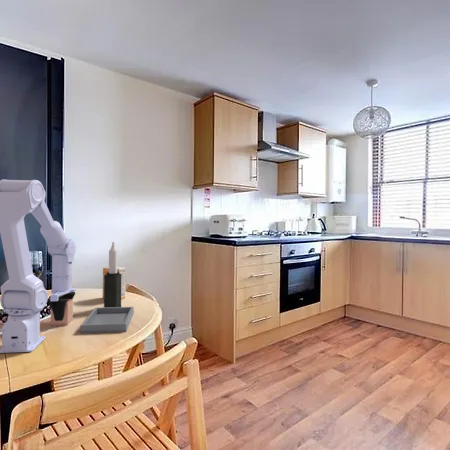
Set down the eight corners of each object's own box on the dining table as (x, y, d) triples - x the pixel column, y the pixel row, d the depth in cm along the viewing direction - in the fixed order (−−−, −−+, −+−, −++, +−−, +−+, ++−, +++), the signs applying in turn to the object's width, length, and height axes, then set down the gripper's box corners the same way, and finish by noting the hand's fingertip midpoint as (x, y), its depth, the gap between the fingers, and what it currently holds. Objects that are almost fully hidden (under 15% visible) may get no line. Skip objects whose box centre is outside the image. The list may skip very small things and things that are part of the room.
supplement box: (101, 299, 134) (102, 267, 133) (109, 296, 138) (109, 265, 138) (119, 301, 131) (119, 269, 131) (125, 298, 136) (126, 267, 136)
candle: (115, 310, 118) (115, 242, 118) (102, 309, 119) (103, 242, 119) (122, 306, 123) (123, 241, 123) (110, 305, 124) (110, 241, 124)
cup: (67, 325, 103) (67, 303, 102) (50, 325, 102) (50, 303, 102) (72, 320, 108) (72, 299, 107) (56, 320, 107) (56, 299, 106)
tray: (126, 331, 98) (126, 323, 98) (80, 333, 96) (80, 325, 96) (133, 313, 116) (133, 306, 116) (95, 314, 114) (95, 307, 114)
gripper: (68, 280, 98) (67, 324, 98) (81, 271, 112) (81, 310, 112) (42, 280, 96) (42, 325, 97) (59, 271, 111) (59, 310, 111)
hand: (62, 317), depth 105 cm, fingers closed on cup, 5 cm apart
